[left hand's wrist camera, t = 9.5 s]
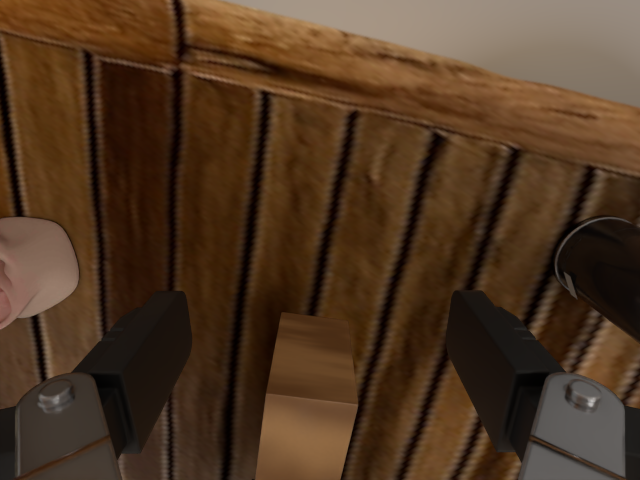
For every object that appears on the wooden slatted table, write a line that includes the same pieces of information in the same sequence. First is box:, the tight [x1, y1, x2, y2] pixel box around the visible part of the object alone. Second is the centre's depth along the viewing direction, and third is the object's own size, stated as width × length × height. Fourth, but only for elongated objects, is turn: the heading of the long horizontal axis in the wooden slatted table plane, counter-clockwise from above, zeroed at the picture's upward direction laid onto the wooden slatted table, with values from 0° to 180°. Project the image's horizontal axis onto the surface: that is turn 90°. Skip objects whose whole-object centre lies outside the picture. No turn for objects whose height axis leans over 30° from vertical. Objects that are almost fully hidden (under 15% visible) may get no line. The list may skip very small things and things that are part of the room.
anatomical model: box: [0, 217, 79, 329], centre depth 41 cm, size 13×4×12 cm
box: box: [255, 312, 358, 480], centre depth 33 cm, size 26×6×10 cm, turn 171°
